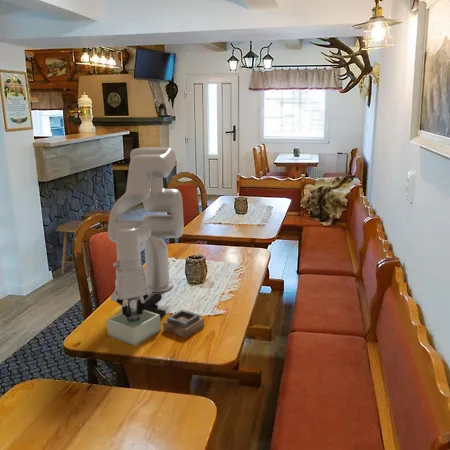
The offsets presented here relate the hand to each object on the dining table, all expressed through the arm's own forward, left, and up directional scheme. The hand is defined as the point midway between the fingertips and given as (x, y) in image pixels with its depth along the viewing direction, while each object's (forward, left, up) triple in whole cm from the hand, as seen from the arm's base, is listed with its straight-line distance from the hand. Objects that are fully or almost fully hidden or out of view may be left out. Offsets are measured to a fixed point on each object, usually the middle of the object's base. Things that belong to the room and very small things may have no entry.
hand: (133, 313), depth 159 cm
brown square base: (+12, +12, -7) cm, 18 cm away
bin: (0, 0, -7) cm, 7 cm away
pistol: (-7, +18, -8) cm, 21 cm away
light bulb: (0, 0, -2) cm, 2 cm away
